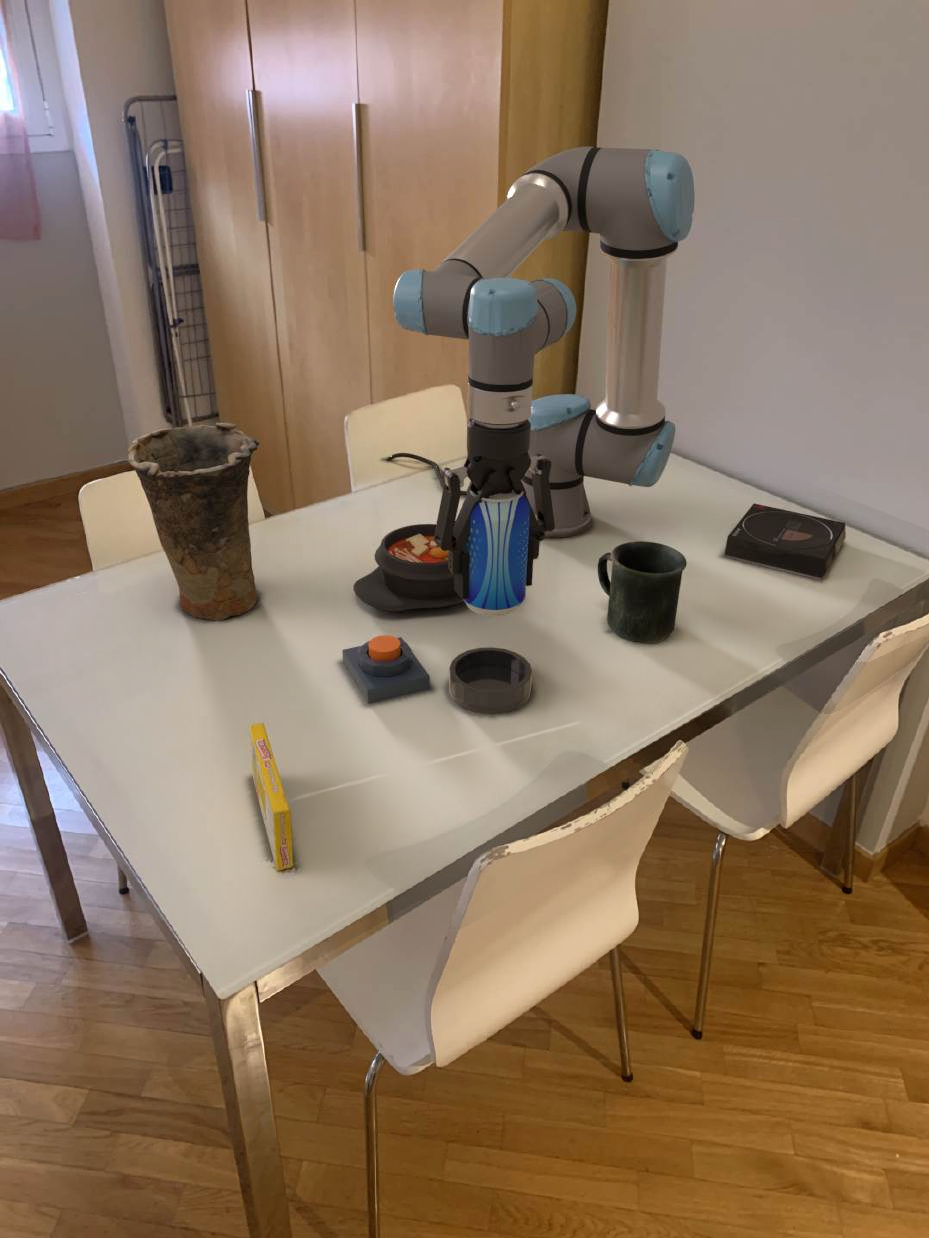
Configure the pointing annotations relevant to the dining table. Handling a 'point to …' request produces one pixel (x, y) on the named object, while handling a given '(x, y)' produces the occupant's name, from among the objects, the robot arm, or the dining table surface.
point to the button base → (385, 673)
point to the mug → (642, 589)
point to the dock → (490, 680)
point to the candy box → (271, 798)
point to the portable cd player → (786, 541)
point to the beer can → (498, 554)
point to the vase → (201, 513)
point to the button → (384, 648)
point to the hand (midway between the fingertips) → (493, 587)
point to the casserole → (409, 572)
